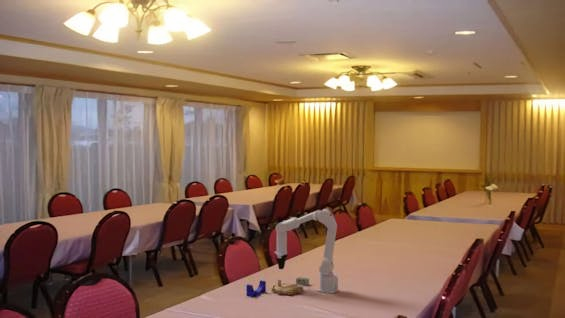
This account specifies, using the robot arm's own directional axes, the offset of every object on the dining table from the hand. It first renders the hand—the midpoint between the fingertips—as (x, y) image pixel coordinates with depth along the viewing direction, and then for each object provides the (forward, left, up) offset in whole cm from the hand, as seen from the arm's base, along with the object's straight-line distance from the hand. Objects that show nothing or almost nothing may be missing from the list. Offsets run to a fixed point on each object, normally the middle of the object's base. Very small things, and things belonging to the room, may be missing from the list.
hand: (281, 268), depth 309 cm
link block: (-7, -12, -11) cm, 17 cm away
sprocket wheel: (-7, +5, -10) cm, 14 cm away
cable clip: (+3, +19, -11) cm, 22 cm away
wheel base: (-7, +5, -10) cm, 14 cm away
